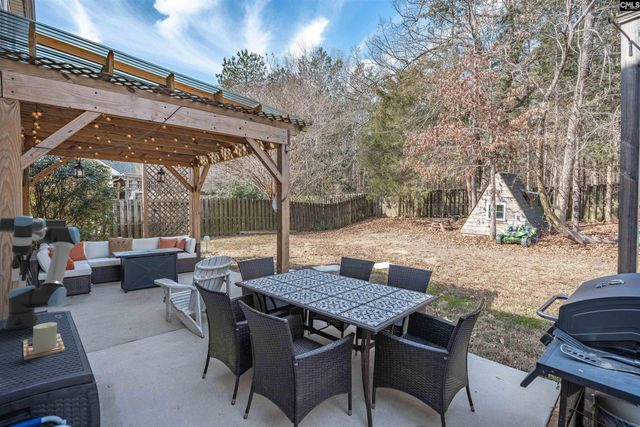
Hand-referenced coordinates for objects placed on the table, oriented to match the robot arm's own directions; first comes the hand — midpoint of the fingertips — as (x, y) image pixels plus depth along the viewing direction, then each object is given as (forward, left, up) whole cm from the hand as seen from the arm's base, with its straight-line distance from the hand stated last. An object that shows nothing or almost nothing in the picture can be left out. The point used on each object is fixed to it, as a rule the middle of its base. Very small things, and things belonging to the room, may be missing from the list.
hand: (18, 283), depth 170 cm
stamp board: (+2, +22, -31) cm, 37 cm away
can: (+6, +27, -30) cm, 41 cm away
